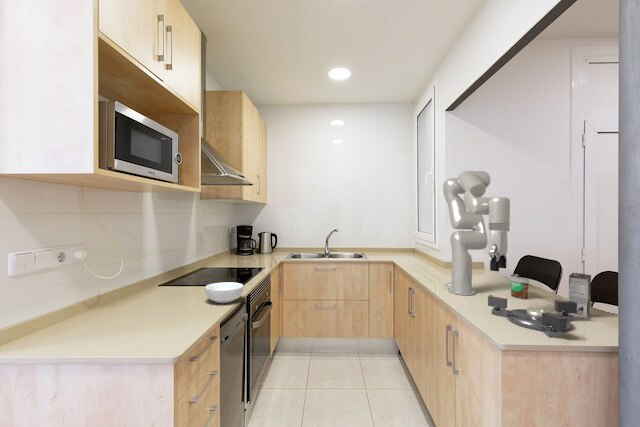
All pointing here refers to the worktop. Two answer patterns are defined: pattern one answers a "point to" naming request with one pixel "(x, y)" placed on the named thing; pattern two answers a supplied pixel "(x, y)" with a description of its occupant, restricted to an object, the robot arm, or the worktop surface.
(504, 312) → the levelling base
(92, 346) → the worktop surface
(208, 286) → the cereal bowl
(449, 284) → the robot arm
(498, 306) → the dark grey bracket
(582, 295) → the coffee box
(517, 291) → the food container
